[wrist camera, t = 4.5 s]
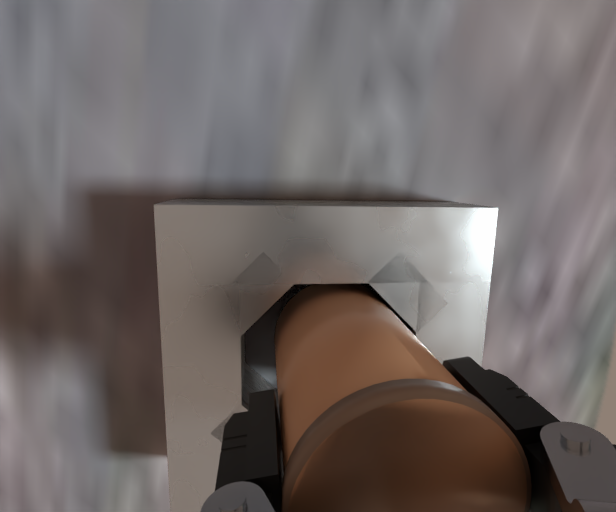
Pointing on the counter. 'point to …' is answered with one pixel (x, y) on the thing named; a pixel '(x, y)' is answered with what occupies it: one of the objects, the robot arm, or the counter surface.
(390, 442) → the tan rounded cylinder
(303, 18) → the counter surface
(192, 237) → the housing
